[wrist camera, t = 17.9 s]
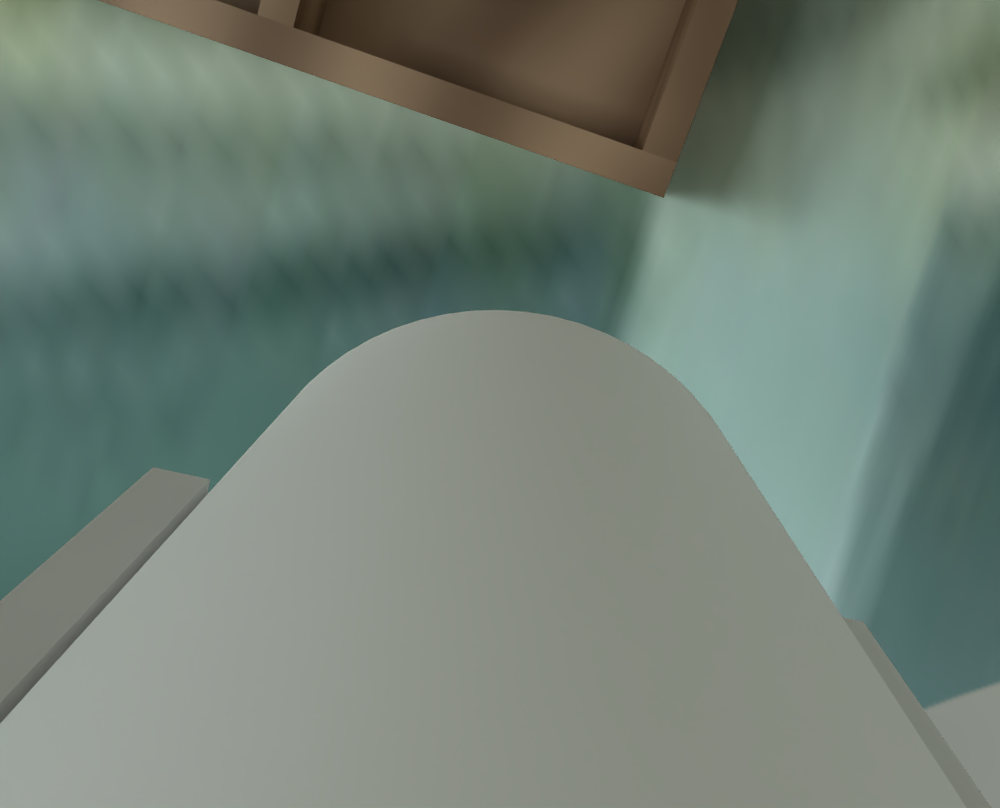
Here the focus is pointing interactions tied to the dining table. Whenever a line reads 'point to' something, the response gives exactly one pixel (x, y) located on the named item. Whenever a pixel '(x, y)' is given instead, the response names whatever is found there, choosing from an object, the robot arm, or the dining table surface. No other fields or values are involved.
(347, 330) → the dining table surface
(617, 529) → the cup
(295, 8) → the tray
